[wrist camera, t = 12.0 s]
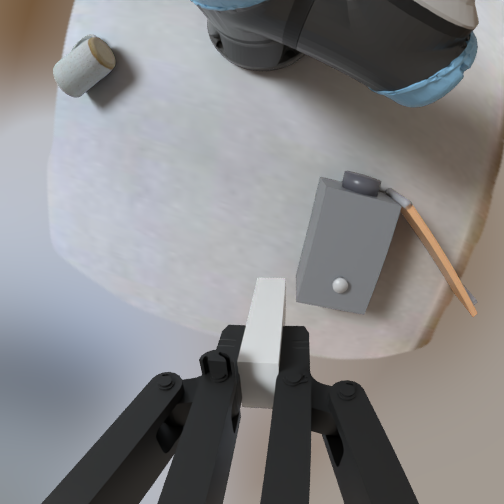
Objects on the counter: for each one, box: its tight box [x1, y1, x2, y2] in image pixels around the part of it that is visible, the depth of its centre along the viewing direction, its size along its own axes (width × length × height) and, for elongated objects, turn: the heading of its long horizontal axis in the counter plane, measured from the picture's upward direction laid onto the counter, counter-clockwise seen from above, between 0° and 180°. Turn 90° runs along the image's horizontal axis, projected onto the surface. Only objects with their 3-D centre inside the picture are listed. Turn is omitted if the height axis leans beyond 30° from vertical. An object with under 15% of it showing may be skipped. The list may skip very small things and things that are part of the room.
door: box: [386, 188, 477, 317], centre depth 41 cm, size 24×2×8 cm, turn 45°
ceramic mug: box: [53, 34, 115, 97], centre depth 36 cm, size 11×8×8 cm
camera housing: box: [296, 171, 402, 314], centre depth 42 cm, size 18×10×9 cm, turn 170°
